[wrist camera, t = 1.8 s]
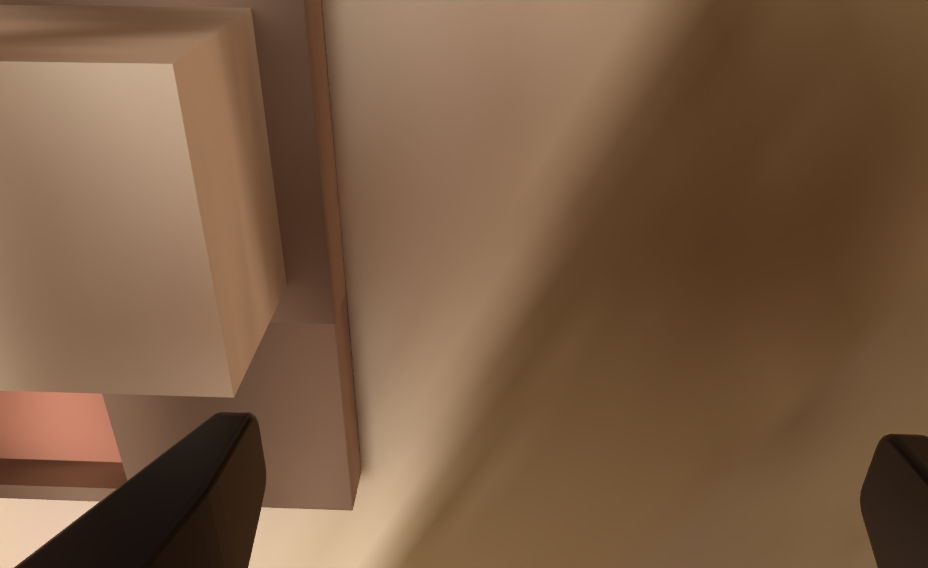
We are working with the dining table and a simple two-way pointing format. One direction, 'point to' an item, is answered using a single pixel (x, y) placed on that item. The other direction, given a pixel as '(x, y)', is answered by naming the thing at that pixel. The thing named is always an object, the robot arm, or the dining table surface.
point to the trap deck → (283, 344)
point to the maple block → (133, 200)
